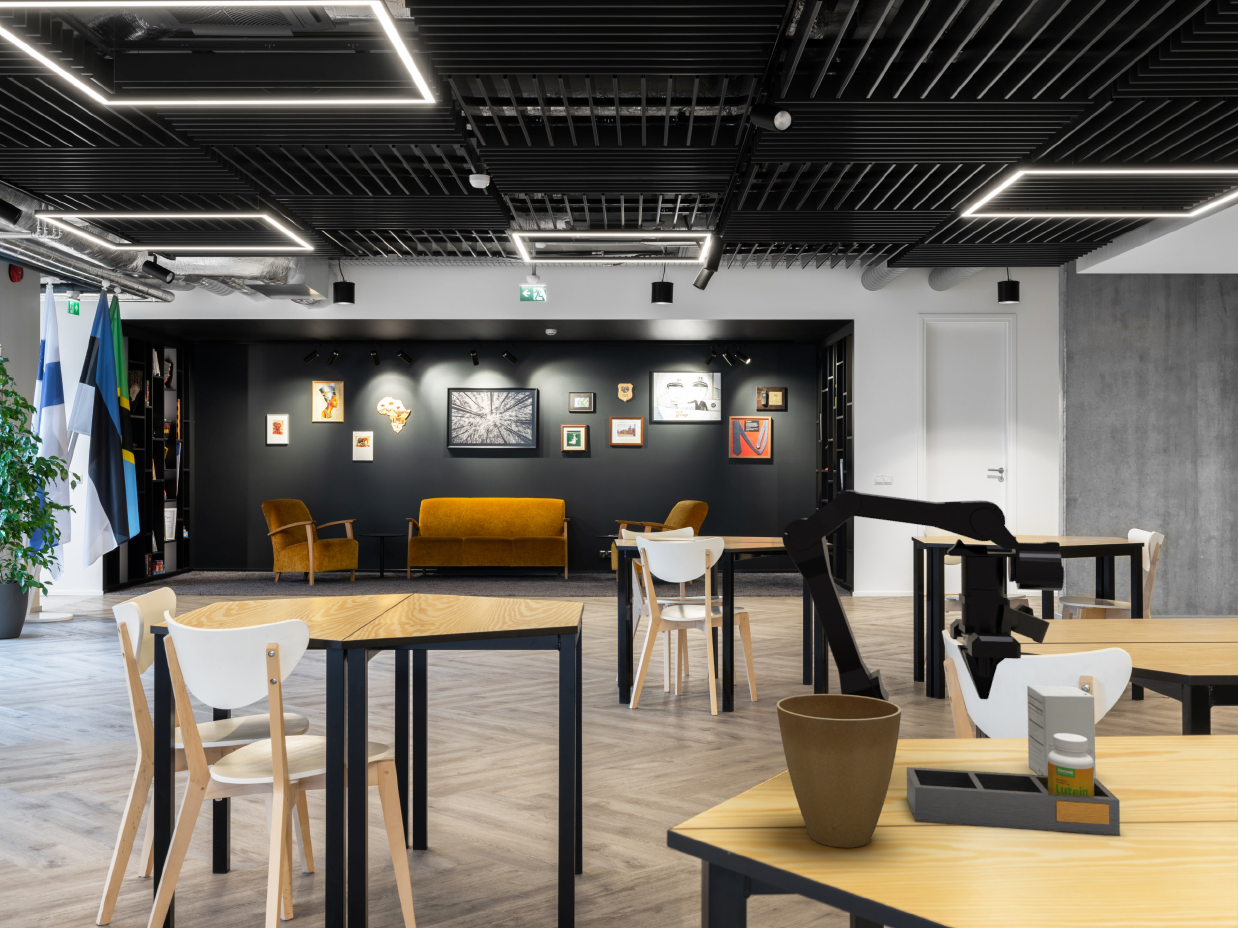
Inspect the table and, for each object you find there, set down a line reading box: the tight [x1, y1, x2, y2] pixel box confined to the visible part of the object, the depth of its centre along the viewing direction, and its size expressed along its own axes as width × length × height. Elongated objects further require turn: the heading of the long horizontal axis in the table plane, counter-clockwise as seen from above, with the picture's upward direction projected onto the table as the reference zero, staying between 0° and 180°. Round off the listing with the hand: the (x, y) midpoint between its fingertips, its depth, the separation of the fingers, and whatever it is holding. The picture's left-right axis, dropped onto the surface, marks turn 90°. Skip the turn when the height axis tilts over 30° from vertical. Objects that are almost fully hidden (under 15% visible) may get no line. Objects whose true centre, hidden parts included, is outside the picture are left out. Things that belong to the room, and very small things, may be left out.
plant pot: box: [776, 693, 902, 849], centre depth 113 cm, size 15×15×16 cm
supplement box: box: [1026, 685, 1097, 779], centre depth 139 cm, size 7×7×13 cm
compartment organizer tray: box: [906, 766, 1121, 836], centre depth 120 cm, size 24×9×4 cm, turn 79°
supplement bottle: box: [1048, 733, 1094, 796], centre depth 119 cm, size 5×5×10 cm
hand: (983, 698), depth 130 cm, fingers closed
